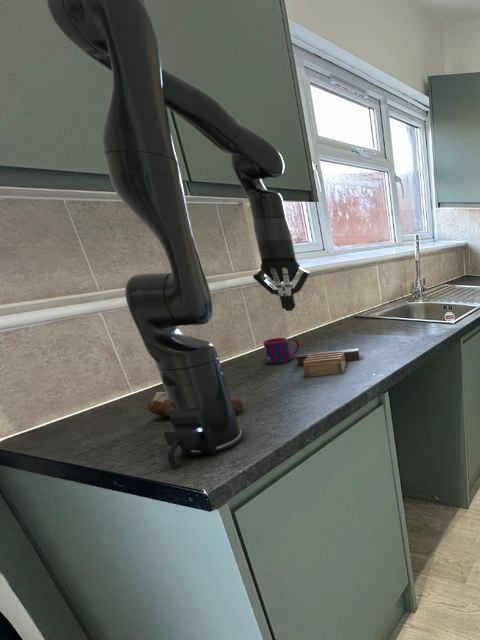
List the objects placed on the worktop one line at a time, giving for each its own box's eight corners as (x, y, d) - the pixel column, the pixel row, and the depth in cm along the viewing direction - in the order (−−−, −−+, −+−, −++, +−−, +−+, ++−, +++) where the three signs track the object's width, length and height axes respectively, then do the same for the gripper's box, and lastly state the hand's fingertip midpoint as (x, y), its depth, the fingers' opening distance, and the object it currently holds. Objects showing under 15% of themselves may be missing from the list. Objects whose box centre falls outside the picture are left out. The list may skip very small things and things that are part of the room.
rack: (343, 373, 121) (340, 359, 119) (305, 377, 118) (302, 363, 117) (346, 362, 130) (343, 349, 128) (311, 366, 127) (308, 353, 126)
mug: (266, 360, 134) (260, 340, 132) (298, 354, 140) (294, 334, 138) (271, 365, 129) (266, 344, 127) (305, 358, 135) (300, 338, 133)
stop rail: (359, 359, 133) (358, 350, 131) (298, 366, 128) (296, 356, 127) (360, 357, 135) (358, 348, 134) (300, 363, 131) (298, 354, 130)
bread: (170, 409, 100) (163, 388, 98) (249, 408, 99) (243, 386, 97) (149, 421, 94) (140, 398, 92) (232, 419, 93) (225, 397, 91)
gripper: (238, 239, 95) (256, 315, 101) (300, 237, 98) (315, 310, 104) (248, 239, 102) (265, 310, 108) (306, 237, 105) (320, 306, 111)
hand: (289, 310), depth 106 cm, fingers closed
